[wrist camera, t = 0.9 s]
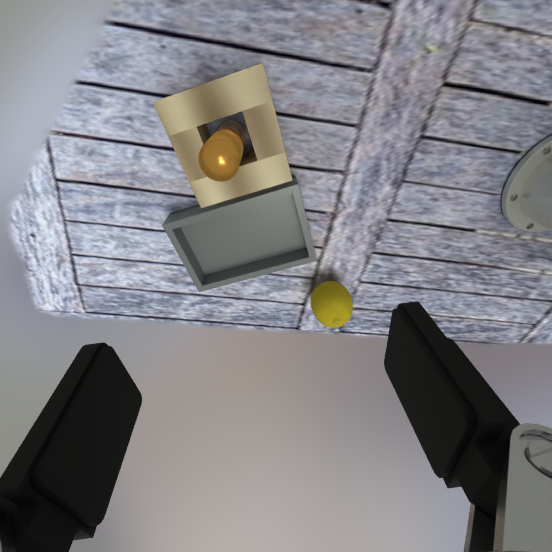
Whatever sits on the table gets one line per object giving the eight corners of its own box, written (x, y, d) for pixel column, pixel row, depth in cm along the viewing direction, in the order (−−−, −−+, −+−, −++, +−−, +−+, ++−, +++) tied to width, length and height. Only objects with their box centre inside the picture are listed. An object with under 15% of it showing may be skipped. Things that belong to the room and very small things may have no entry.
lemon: (300, 283, 43) (307, 320, 36) (332, 263, 41) (346, 299, 34) (319, 306, 45) (329, 345, 39) (351, 288, 44) (367, 325, 37)
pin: (240, 116, 30) (230, 133, 20) (250, 146, 32) (245, 175, 22) (214, 125, 31) (191, 146, 21) (224, 154, 32) (208, 186, 22)
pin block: (262, 65, 28) (262, 62, 24) (288, 168, 34) (292, 180, 29) (168, 99, 29) (152, 102, 25) (208, 193, 35) (200, 208, 31)
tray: (295, 175, 34) (298, 184, 31) (312, 247, 39) (317, 260, 37) (170, 213, 36) (162, 225, 33) (203, 277, 41) (199, 292, 38)
